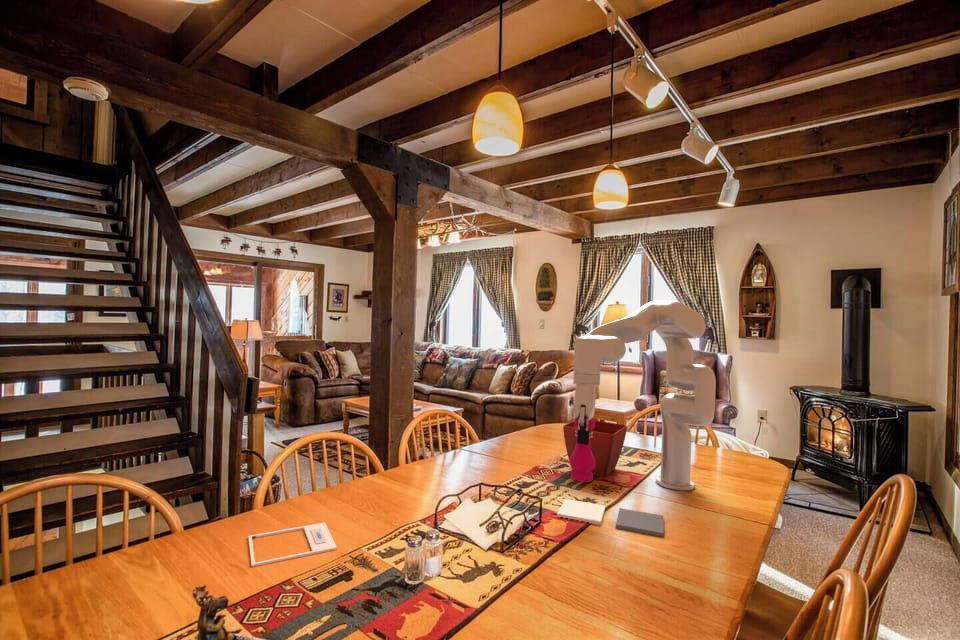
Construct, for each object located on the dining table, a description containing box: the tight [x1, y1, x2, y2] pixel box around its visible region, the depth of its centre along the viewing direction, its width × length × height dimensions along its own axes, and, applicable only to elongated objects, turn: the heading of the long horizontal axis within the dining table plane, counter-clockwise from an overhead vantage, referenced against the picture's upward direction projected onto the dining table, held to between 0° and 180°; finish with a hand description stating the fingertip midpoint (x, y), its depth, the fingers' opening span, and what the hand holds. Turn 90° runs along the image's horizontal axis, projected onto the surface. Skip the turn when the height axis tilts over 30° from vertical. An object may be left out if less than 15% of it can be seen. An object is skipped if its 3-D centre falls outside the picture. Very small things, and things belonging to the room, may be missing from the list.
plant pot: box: [562, 419, 628, 478], centre depth 175 cm, size 19×19×17 cm
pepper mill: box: [569, 416, 595, 483], centre depth 135 cm, size 7×7×20 cm
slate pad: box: [615, 507, 665, 538], centre depth 129 cm, size 12×12×1 cm
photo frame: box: [247, 521, 338, 567], centre depth 111 cm, size 15×1×18 cm
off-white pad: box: [556, 498, 606, 526], centre depth 135 cm, size 12×12×1 cm
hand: (584, 440), depth 135 cm, fingers closed on pepper mill, 5 cm apart
